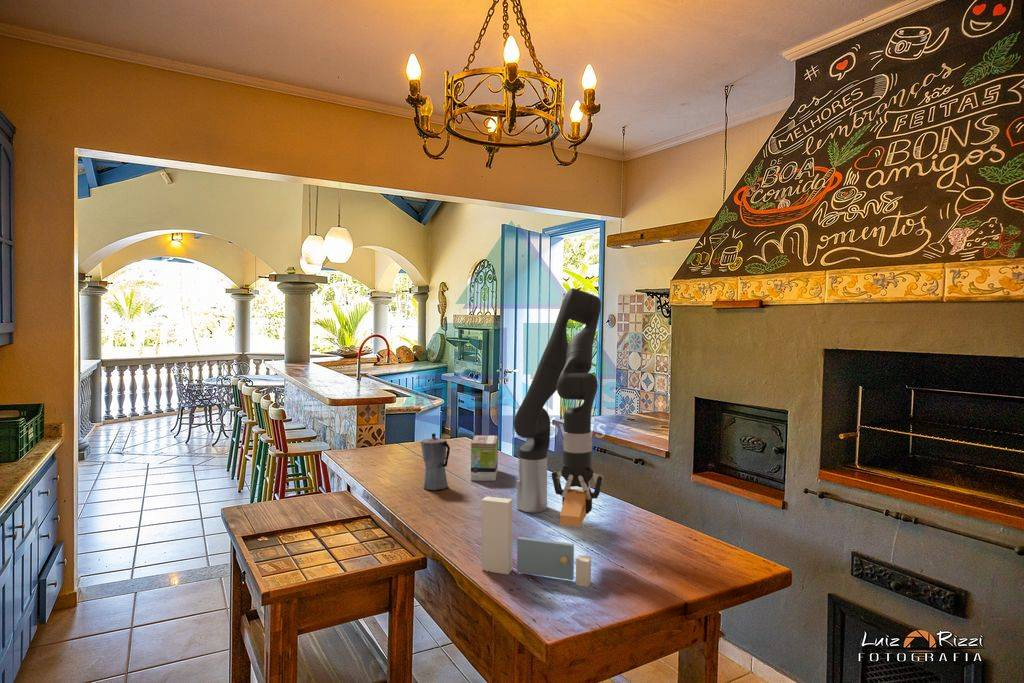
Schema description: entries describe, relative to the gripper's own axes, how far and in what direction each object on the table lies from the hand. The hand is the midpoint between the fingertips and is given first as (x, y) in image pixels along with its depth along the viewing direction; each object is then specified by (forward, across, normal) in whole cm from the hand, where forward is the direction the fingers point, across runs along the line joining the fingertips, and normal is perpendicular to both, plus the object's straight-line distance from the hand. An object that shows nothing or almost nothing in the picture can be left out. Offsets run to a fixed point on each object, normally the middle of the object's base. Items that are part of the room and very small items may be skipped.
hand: (577, 511), depth 153 cm
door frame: (+12, -7, -15) cm, 20 cm away
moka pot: (+12, -61, +42) cm, 75 cm away
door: (+11, -5, -16) cm, 20 cm away
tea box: (+12, -50, +61) cm, 80 cm away
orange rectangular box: (+1, 0, -4) cm, 4 cm away
